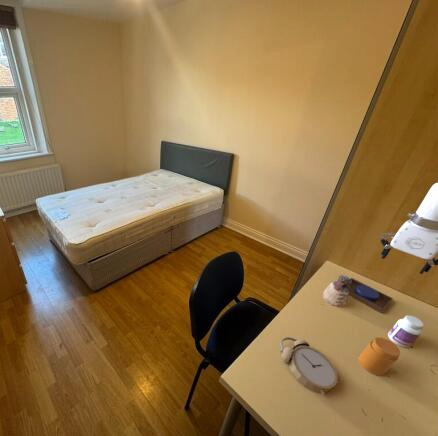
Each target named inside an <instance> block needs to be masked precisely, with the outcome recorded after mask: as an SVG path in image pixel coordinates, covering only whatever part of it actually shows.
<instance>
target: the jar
mask: <svg viewBox="0 0 438 436" xmlns="http://www.w3.org/2000/svg"><path fill="white" fill-rule="evenodd" d="M400 355H401V351H400V348H399V347H398V345H397V344H395V343H394V342H393V341H391V340H390V339H387V338H384V337H375V338H374V339H372V340H371V341H369V342H368V344H367V346H366V347H365V348H364V349H363V350H362V351H361V353H360V354H359V355H358V357H357V359H358V363H359V364H360V366H361V367H362V368H363V369H364V370H365V371H367V372H368V373H370V374H371V375H373V376H374V375H375V376H379V377H381V376H384V375H385V374H386V373H387V371H389V370H390V369H391V368H392V367H393V366H394V365H395V363H396V362H397V361H398V360H399V357H400Z"/></svg>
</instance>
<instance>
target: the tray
mask: <svg viewBox="0 0 438 436" xmlns="http://www.w3.org/2000/svg"><path fill="white" fill-rule="evenodd" d="M349 279H350V280H351V281H352V284H351V285H350V287H351V288H348V290H349V296H348V297H350V298H353V299H354V300H357V301H358V302H360V303H363V304H364V305H366V306H367V307H369V308H371V309H373V310H374V311H376V312H378V313H380V314H383V313H384V312H385V311H386V309H387V308H388V307H389V305H390V304H391V302H392V301H393V299H394V298H393V297H391V296H389V295H387V294H385V293H383V292H381V291H379V290H377V289H375V288H373V289H374V290H376V291H377V292H378V293H379V298H378V299H377V301H375V302H371V301H369V300H367V299H365V298H364V297H362V296H360V295H358V294H356V293H355V289H356V288H357V287H358V286H359V285H365V286H368V287H370V286H369V285H367V284H365V283H363V282H361V281H359V280H357V279H356V278H353V277H350V278H349Z"/></svg>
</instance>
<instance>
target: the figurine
mask: <svg viewBox="0 0 438 436" xmlns="http://www.w3.org/2000/svg"><path fill="white" fill-rule="evenodd" d="M350 279H351V278H350V277H349V276H347V275H339V277H338V278H337V280H336V281H331V283H329V284H328V286H327V287H326V288H325V290H323V293H322V297H323V300H324V301H325V302H327V303H328V304H330V306H331V305H332V306H334V307H337V308H342V307H345V306H346V304H347V302H348V299H349V297H350V296H349V290H348V288H351V287H350V285H351V284H352V281H351V280H350Z"/></svg>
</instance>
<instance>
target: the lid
mask: <svg viewBox="0 0 438 436" xmlns="http://www.w3.org/2000/svg"><path fill="white" fill-rule="evenodd" d="M365 285H366V284H365ZM365 285H359V286H358V287H357V288H356V289H355V293H356V294H358V295H360V296H362V297H364V298H365V299H367V300H369V301H371V302H375V301H377V299H378V298H379V293H378V292H377V291H378V290H377V289H375V288H373V287H371V286H369V285H367V286H365ZM368 286H369V287H368ZM374 289H375V290H374ZM376 290H377V291H376Z"/></svg>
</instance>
